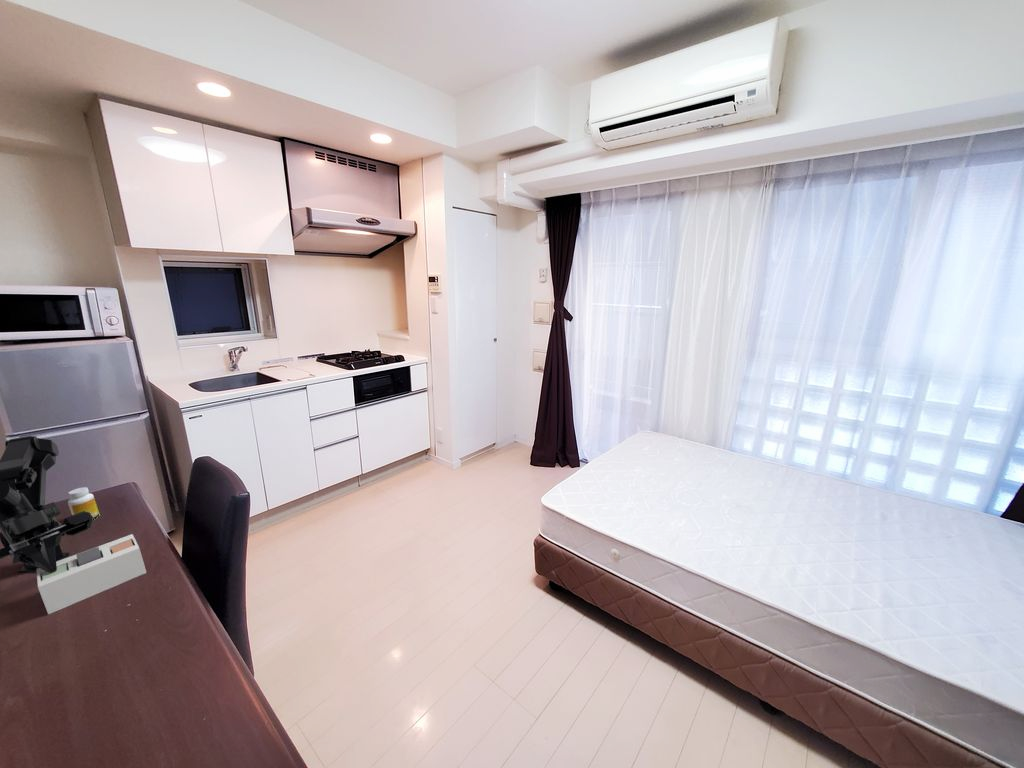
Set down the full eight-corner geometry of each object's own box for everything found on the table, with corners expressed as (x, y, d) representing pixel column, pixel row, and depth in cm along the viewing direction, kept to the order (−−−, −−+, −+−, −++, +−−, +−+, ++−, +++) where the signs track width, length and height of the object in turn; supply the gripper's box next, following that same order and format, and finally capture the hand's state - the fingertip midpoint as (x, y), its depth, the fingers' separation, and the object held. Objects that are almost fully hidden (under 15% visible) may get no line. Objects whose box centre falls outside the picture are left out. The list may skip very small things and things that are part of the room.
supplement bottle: (104, 515, 122) (95, 486, 119) (82, 525, 117) (72, 496, 114) (92, 513, 123) (83, 485, 121) (69, 523, 118) (59, 493, 116)
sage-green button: (45, 582, 88) (42, 573, 88) (69, 573, 91) (65, 564, 90) (46, 589, 86) (42, 580, 85) (70, 580, 89) (67, 571, 88)
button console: (46, 594, 90) (36, 568, 89) (139, 557, 102) (132, 534, 101) (48, 614, 85) (38, 587, 83) (146, 572, 97) (139, 548, 95)
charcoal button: (79, 563, 92) (76, 554, 91) (100, 555, 95) (98, 546, 94) (80, 570, 90) (77, 561, 89) (103, 561, 92) (100, 552, 92)
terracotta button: (113, 555, 96) (110, 547, 96) (133, 548, 99) (130, 540, 98) (115, 562, 94) (113, 553, 94) (136, 554, 97) (133, 545, 96)
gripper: (-53, 523, 77) (-10, 586, 76) (77, 480, 94) (114, 530, 92) (-53, 548, 82) (-13, 607, 81) (71, 502, 99) (106, 551, 97)
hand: (54, 571), depth 88 cm, fingers closed, pressing on sage-green button
